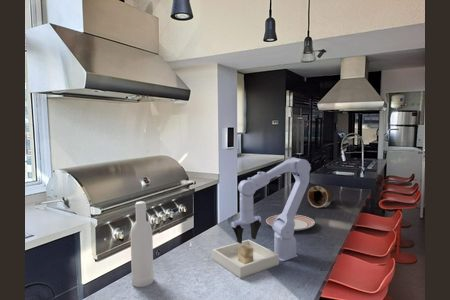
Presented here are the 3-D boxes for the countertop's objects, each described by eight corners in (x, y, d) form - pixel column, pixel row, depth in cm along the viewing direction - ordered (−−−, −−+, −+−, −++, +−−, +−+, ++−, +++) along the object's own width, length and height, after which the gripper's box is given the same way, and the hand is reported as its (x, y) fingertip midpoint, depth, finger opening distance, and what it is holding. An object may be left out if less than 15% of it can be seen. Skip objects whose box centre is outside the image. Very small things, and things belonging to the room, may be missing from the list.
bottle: (154, 275, 116) (152, 199, 114) (153, 286, 108) (151, 204, 106) (133, 277, 115) (130, 200, 112) (130, 288, 107) (127, 205, 104)
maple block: (246, 257, 130) (246, 244, 129) (253, 261, 126) (253, 247, 125) (238, 260, 127) (238, 246, 127) (244, 264, 123) (244, 250, 123)
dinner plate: (259, 229, 167) (259, 223, 167) (274, 216, 192) (274, 211, 191) (308, 237, 155) (309, 231, 154) (319, 222, 179) (319, 217, 179)
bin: (248, 248, 141) (248, 239, 140) (279, 264, 124) (279, 254, 124) (212, 259, 130) (212, 249, 129) (240, 278, 113) (240, 267, 113)
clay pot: (338, 186, 226) (327, 185, 206) (339, 206, 223) (328, 207, 203) (318, 186, 234) (306, 185, 214) (319, 206, 232) (307, 207, 212)
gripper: (253, 204, 133) (253, 234, 135) (226, 209, 125) (227, 241, 126) (264, 207, 128) (264, 238, 129) (237, 213, 119) (237, 246, 121)
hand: (246, 240), depth 127 cm, fingers open, 7 cm apart
